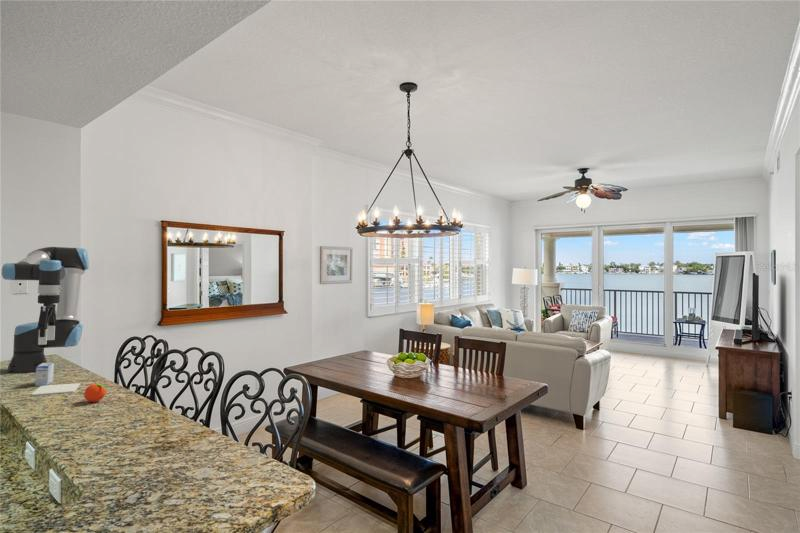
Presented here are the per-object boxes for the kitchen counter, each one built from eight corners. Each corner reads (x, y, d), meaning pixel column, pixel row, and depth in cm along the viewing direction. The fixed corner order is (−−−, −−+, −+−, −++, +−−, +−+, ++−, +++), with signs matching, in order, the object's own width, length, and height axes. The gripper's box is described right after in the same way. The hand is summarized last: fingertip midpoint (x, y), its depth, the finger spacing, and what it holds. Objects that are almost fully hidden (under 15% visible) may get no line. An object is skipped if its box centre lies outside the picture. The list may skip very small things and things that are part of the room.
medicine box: (41, 382, 192) (42, 362, 192) (53, 381, 194) (54, 362, 194) (34, 386, 185) (35, 366, 185) (47, 385, 187) (48, 365, 187)
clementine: (112, 399, 170) (113, 381, 170) (98, 404, 163) (99, 386, 163) (93, 398, 171) (94, 380, 171) (79, 403, 164) (79, 385, 164)
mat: (40, 387, 184) (40, 385, 184) (80, 384, 190) (80, 383, 190) (30, 395, 171) (30, 394, 171) (73, 392, 178) (74, 391, 178)
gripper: (52, 295, 181) (49, 346, 180) (65, 293, 203) (63, 338, 202) (29, 295, 177) (26, 347, 177) (45, 293, 199) (43, 338, 199)
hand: (46, 342), depth 189 cm, fingers open, 13 cm apart
